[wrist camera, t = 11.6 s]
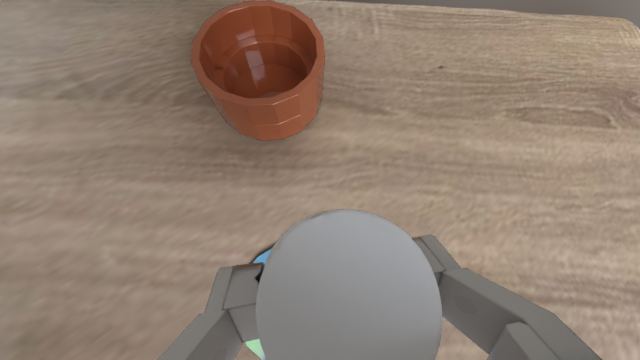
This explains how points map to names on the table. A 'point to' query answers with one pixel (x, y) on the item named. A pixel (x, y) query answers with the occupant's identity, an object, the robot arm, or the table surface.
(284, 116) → the pot
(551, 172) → the table surface
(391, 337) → the pill bottle
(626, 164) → the table surface
